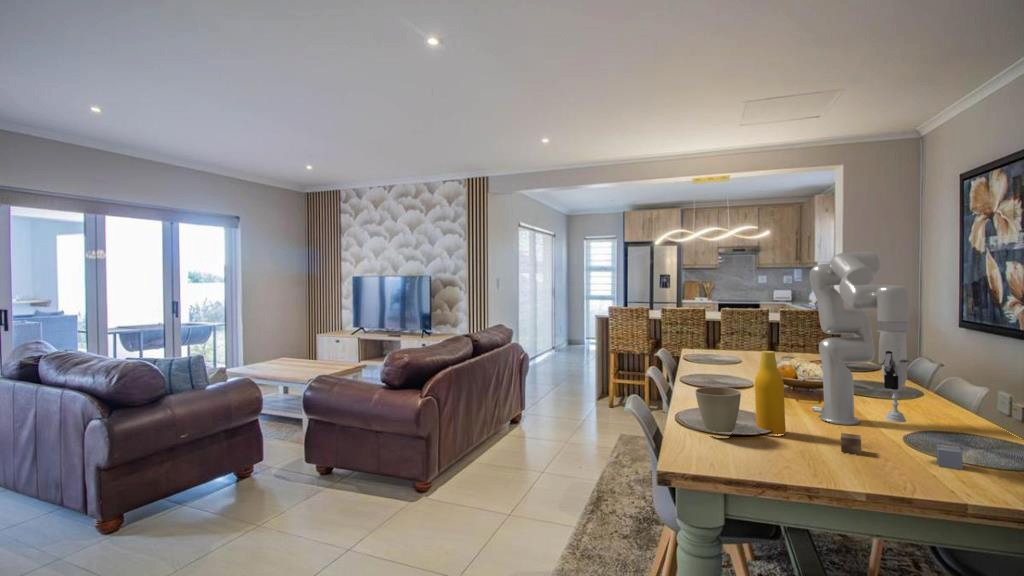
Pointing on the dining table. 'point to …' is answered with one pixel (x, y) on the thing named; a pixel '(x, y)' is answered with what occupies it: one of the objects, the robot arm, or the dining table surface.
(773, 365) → the beer bottle
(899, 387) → the chalice
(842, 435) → the walnut block
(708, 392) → the plant pot
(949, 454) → the slate block
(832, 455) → the dining table surface
